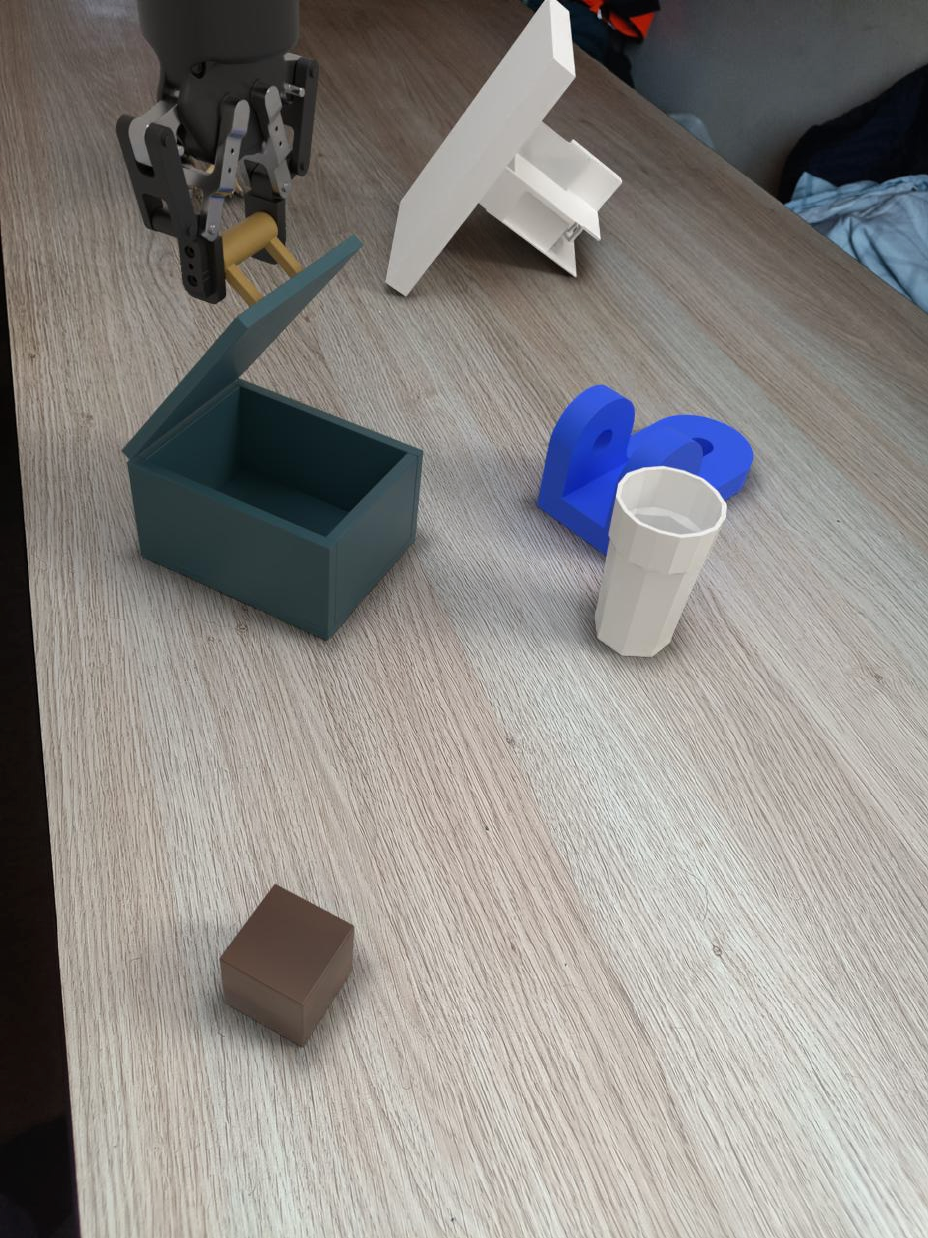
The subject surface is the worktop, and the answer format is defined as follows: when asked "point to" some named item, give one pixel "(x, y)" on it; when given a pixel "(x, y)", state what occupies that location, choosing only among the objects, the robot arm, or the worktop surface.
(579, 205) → the white tilted panel stand
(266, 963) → the block
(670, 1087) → the worktop surface
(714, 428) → the bracket
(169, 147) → the robot arm
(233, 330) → the lid
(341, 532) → the box
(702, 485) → the cup
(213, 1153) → the worktop surface
